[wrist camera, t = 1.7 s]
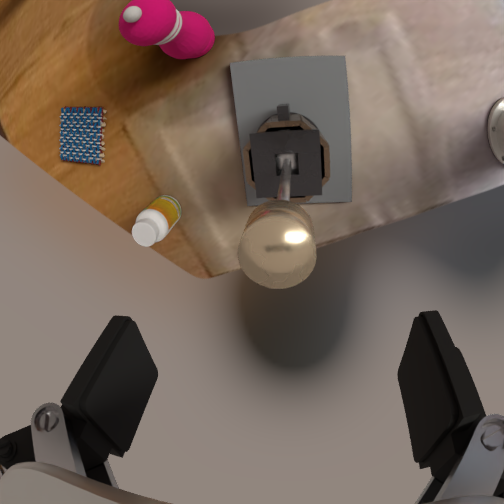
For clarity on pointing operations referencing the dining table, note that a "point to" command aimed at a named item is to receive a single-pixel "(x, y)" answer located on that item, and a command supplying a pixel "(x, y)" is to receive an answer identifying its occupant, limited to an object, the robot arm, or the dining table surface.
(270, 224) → the plunger
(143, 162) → the dining table surface
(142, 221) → the supplement bottle
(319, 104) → the slate board
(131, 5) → the pepper mill
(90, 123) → the woven mat
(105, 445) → the robot arm
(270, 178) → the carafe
